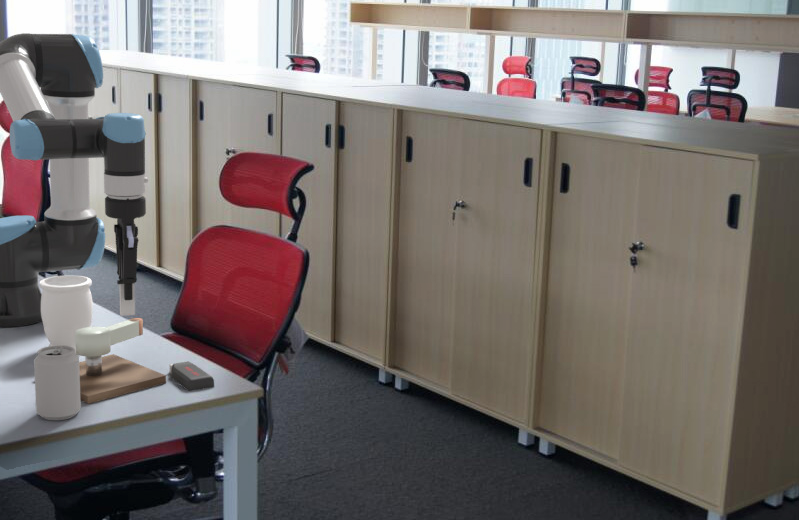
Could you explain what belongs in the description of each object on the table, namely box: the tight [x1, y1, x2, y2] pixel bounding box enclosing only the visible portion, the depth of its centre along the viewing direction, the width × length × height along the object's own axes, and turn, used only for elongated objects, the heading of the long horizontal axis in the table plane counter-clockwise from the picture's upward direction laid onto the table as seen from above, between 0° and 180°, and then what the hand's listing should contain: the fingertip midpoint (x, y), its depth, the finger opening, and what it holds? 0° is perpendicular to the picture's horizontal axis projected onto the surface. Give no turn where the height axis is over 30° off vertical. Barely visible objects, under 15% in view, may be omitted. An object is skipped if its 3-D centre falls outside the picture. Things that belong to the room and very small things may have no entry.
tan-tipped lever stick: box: [75, 317, 144, 357], centre depth 206 cm, size 16×6×4 cm, turn 152°
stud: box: [84, 355, 103, 376], centre depth 202 cm, size 3×3×4 cm
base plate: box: [79, 353, 167, 405], centre depth 203 cm, size 18×17×2 cm
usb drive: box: [168, 361, 215, 392], centre depth 206 cm, size 5×12×3 cm, turn 34°
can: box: [33, 345, 82, 421], centre depth 184 cm, size 8×8×12 cm
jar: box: [39, 275, 94, 353], centre depth 220 cm, size 11×10×15 cm
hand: (127, 314), depth 205 cm, fingers closed
